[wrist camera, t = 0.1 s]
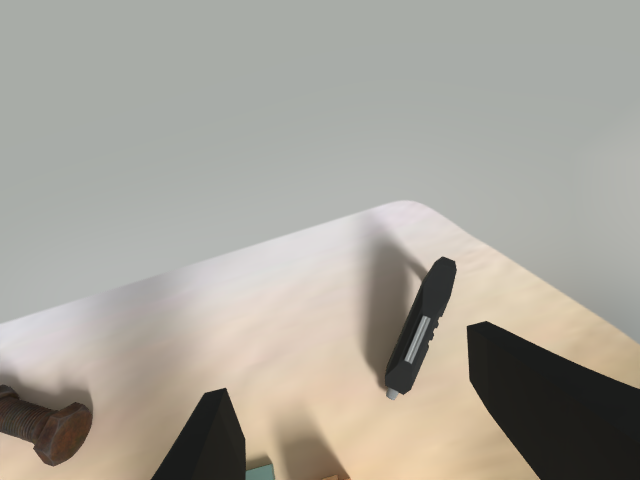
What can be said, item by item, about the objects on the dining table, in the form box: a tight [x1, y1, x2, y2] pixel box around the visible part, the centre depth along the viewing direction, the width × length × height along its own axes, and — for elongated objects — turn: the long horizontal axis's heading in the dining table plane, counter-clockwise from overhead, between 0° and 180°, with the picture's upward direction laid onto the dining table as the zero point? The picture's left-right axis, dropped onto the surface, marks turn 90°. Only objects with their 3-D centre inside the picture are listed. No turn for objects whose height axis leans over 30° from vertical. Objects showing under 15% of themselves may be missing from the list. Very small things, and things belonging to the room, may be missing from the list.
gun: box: [385, 257, 457, 400], centre depth 40 cm, size 3×16×10 cm, turn 154°
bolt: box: [0, 385, 92, 466], centre depth 38 cm, size 6×5×15 cm
